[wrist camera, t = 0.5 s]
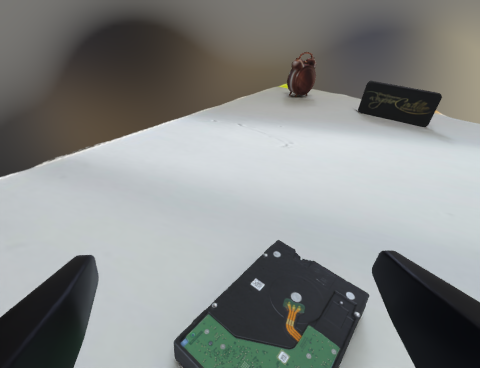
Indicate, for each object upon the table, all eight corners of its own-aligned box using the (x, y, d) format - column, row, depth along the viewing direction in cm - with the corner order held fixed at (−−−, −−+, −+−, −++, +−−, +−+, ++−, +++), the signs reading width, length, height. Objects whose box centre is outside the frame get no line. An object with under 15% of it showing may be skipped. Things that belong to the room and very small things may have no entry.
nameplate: (357, 112, 90) (367, 81, 84) (357, 110, 91) (368, 80, 86) (426, 127, 82) (443, 94, 77) (426, 126, 84) (442, 93, 79)
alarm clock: (302, 93, 105) (312, 51, 97) (312, 96, 102) (322, 53, 94) (283, 95, 99) (291, 50, 91) (292, 98, 96) (301, 53, 88)
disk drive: (272, 255, 31) (171, 360, 20) (276, 237, 30) (170, 340, 19) (360, 311, 26) (288, 486, 16) (371, 292, 25) (299, 473, 14)
